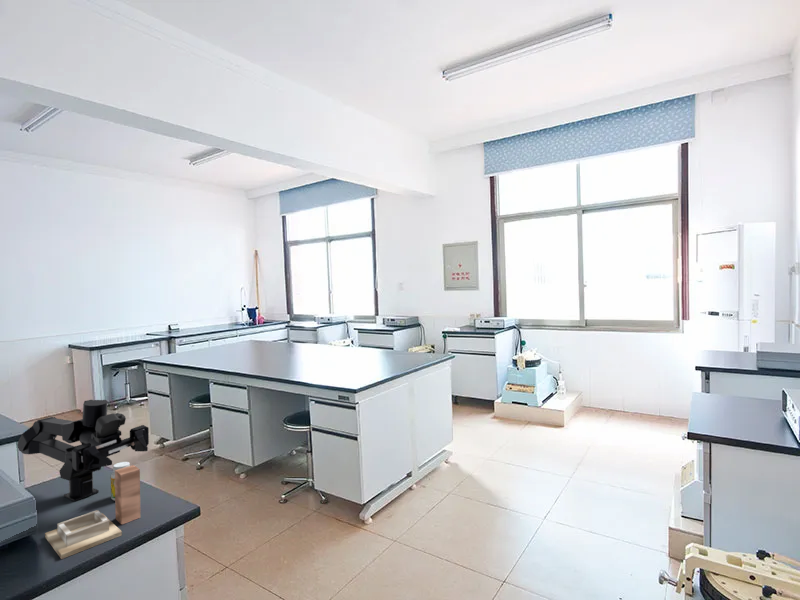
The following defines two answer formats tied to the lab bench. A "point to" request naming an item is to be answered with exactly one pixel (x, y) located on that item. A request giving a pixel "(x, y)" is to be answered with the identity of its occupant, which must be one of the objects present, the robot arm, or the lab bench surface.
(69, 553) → the socket holder
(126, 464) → the supplement bottle
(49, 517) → the lab bench surface
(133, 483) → the peg
